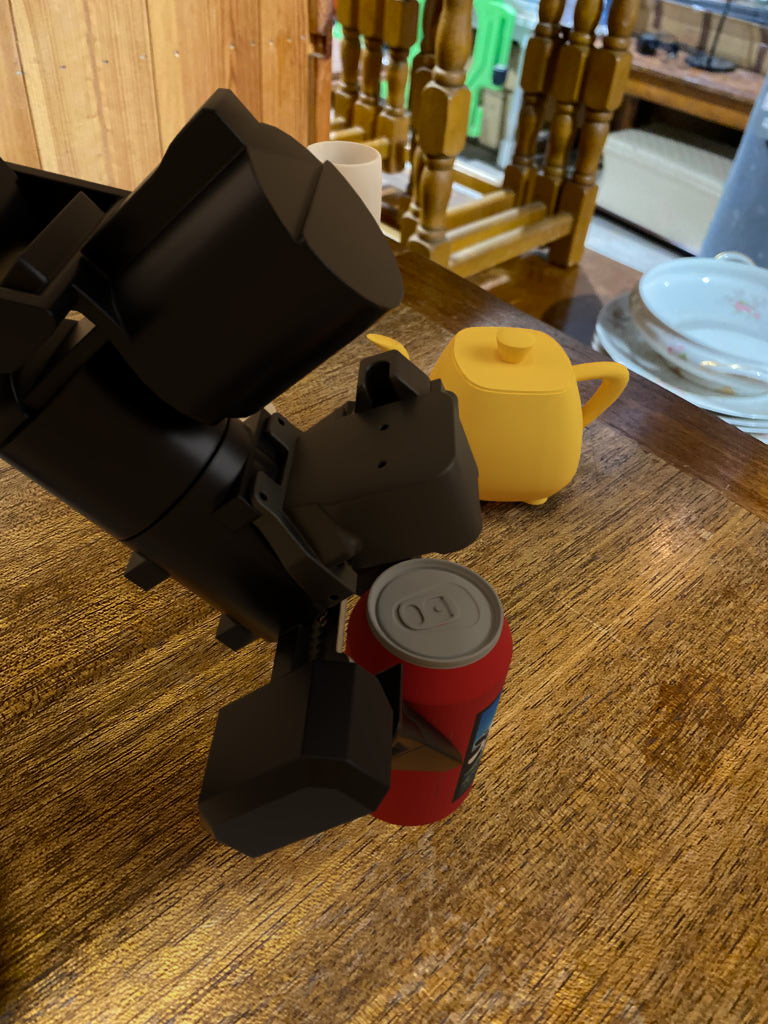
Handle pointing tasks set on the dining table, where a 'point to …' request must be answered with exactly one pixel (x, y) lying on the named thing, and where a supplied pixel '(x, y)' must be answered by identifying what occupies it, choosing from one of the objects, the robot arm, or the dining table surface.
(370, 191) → the cup
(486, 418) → the teapot
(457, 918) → the dining table surface
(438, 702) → the beverage can
